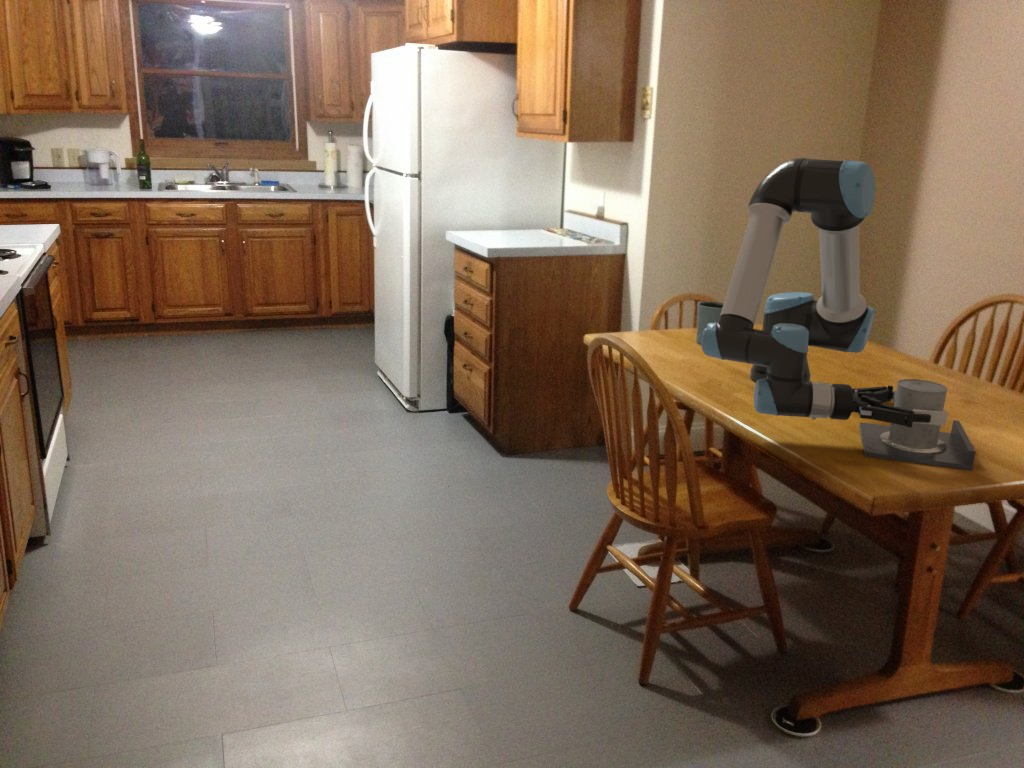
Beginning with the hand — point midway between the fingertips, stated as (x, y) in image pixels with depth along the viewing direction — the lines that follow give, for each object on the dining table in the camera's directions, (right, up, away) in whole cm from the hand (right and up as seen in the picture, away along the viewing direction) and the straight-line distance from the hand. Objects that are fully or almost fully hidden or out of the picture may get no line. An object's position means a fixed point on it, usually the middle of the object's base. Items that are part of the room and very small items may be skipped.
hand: (935, 408), depth 185 cm
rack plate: (-4, -8, +3) cm, 9 cm away
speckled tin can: (-4, -7, +3) cm, 9 cm away
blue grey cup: (-27, +17, +87) cm, 93 cm away
